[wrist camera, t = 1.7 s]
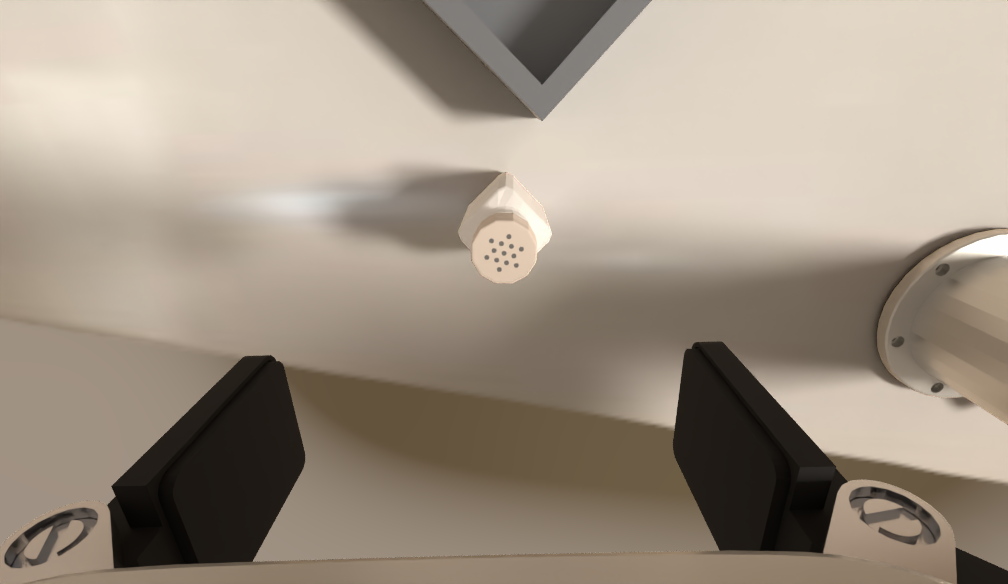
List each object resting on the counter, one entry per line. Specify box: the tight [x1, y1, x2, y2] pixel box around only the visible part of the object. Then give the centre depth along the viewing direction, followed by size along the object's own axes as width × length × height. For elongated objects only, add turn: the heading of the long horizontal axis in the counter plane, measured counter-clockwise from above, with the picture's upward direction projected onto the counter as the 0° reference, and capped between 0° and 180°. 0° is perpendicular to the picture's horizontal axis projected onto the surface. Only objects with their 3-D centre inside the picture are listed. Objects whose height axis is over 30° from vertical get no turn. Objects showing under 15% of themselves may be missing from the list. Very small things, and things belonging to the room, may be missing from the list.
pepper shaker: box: [458, 172, 552, 284], centre depth 26 cm, size 4×4×10 cm
